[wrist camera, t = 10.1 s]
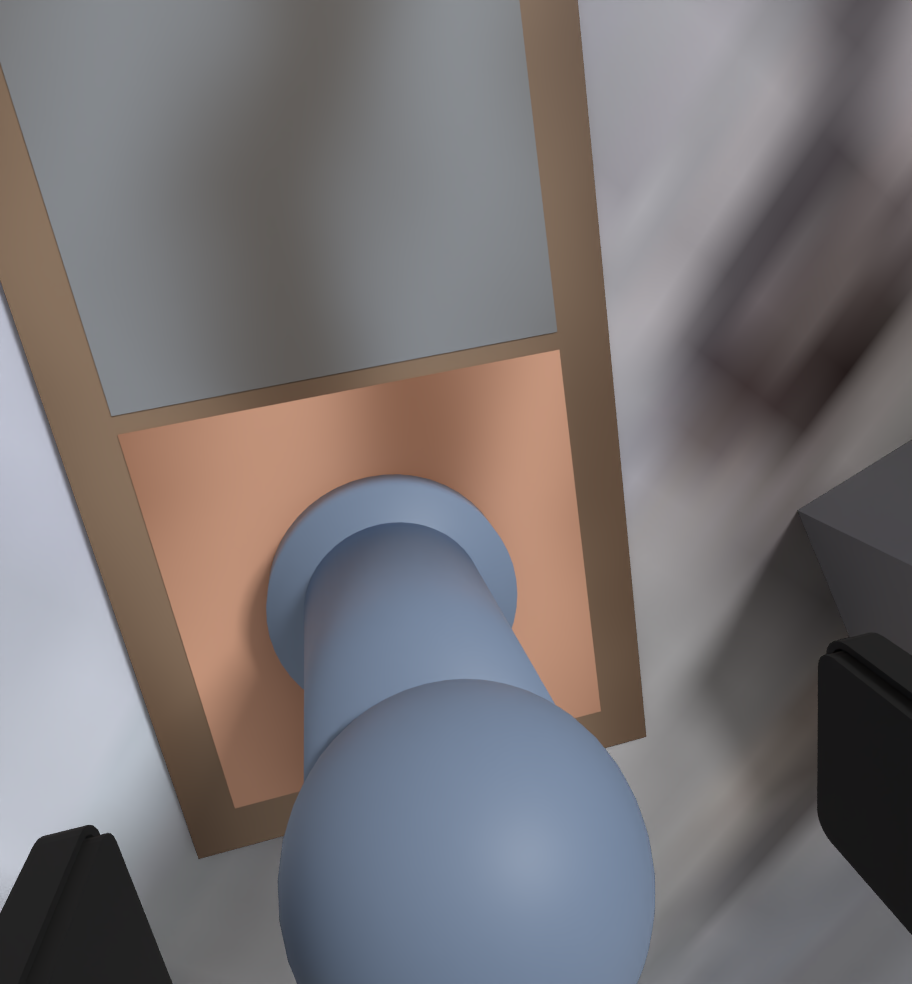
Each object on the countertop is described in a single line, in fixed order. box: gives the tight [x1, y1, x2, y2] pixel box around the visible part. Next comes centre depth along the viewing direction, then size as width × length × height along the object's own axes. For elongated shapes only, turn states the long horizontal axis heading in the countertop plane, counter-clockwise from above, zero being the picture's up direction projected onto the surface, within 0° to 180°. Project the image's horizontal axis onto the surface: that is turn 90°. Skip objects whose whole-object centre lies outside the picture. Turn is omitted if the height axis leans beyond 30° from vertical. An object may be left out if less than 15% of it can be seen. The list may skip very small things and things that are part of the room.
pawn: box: [266, 474, 655, 984], centre depth 12 cm, size 6×6×11 cm
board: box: [0, 0, 646, 859], centre depth 14 cm, size 12×32×1 cm, turn 10°
